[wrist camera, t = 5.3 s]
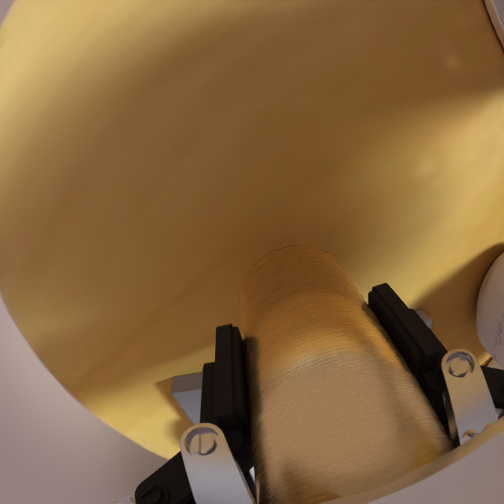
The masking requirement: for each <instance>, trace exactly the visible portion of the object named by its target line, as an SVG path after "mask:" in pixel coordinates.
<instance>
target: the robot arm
mask: <svg viewBox="0 0 504 504" xmlns="http://www.w3.org/2000/svg"><path fill="white" fill-rule="evenodd" d="M484 1H485V5H486V8H487V11H488V13H489V16H490V18H491V21H492V24H493V26H494V28H495V30H496V33H497V35H498V37H499V39H500V41H501V44H502V46H503V48H504V0H484ZM368 305H369V307H370V308H371V310H372V311H373V313H374V314H375V316H376V317H377V319H378V320H379V322H380V323H381V325H382V326H383V328H384V329H385V331H386V332H387V334H388V335H389V337H390V338H391V340H392V341H393V343H394V345H395V346H396V348H397V349H398V351H399V352H400V354H401V356H402V357H403V359H404V360H405V362H406V364H407V365H408V367H409V368H410V370H411V372H412V373H413V375H414V377H415V378H416V380H417V382H418V383H419V385H420V387H421V388H422V390H423V392H424V393H425V395H426V397H427V399H428V400H429V402H430V404H431V406H432V407H433V409H434V411H435V413H436V414H437V416H438V418H439V420H440V422H441V423H442V425H443V427H444V429H445V431H446V433H447V435H448V436H449V438H450V440H451V442H452V444H453V446H454V448H455V449H454V450H452V451H450V452H449V453H447V454H445V455H443V456H441V457H440V458H438V459H436V460H434V461H432V462H430V463H428V464H426V465H424V466H422V467H420V468H418V469H416V470H414V471H412V472H410V473H408V474H406V475H405V476H403V477H401V478H399V479H398V480H396V481H393V482H391V483H389V484H387V485H384V486H382V487H380V488H377V489H374V490H371V491H367V492H364V493H361V494H356V495H351V496H346V497H342V498H338V499H335V500H331V501H327V502H323V503H319V504H504V370H503V369H497V368H491V367H486V366H480V365H479V362H478V360H477V358H476V357H475V355H474V354H473V353H471V352H470V351H468V350H465V349H454V350H451V351H449V352H448V351H447V350H446V349H445V347H444V346H443V345H442V344H441V342H440V341H439V340H438V339H437V337H436V336H435V335H434V333H433V332H432V331H431V330H430V328H429V327H428V326H427V325H426V324H425V322H424V321H423V320H422V319H421V318H420V316H419V315H418V314H417V313H416V312H415V311H414V310H413V309H409V308H408V307H407V306H406V305H405V304H404V302H403V301H402V300H401V299H400V298H399V296H398V295H397V294H396V293H395V292H394V291H393V289H392V288H391V287H390V286H389V285H388V284H387V283H384V284H380V285H377V286H374V287H373V288H372V291H370V292H369V293H368ZM180 449H181V451H180V452H179V453H177V454H176V455H175V456H174V457H173V458H171V459H170V460H169V461H168V462H167V463H165V464H164V465H163V466H162V467H161V468H159V469H158V470H157V471H155V472H154V473H153V474H152V475H150V476H149V477H148V478H147V479H145V480H144V481H143V482H141V483H140V485H139V486H138V487H137V489H136V491H135V494H134V495H133V496H129V495H127V496H125V497H123V498H122V499H120V500H118V501H116V502H115V503H112V504H257V497H256V487H255V479H254V477H253V475H252V473H251V470H250V469H251V468H252V467H253V455H252V444H251V433H250V421H249V409H248V397H247V385H246V372H245V359H244V345H243V340H242V337H241V334H240V331H239V329H238V327H233V326H232V324H228V325H223V326H218V327H217V328H216V347H215V362H211V363H205V364H204V366H203V377H202V392H201V408H200V424H196V425H194V426H191V427H190V428H189V429H187V430H186V431H185V432H184V434H183V435H182V437H181V440H180Z"/></svg>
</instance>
